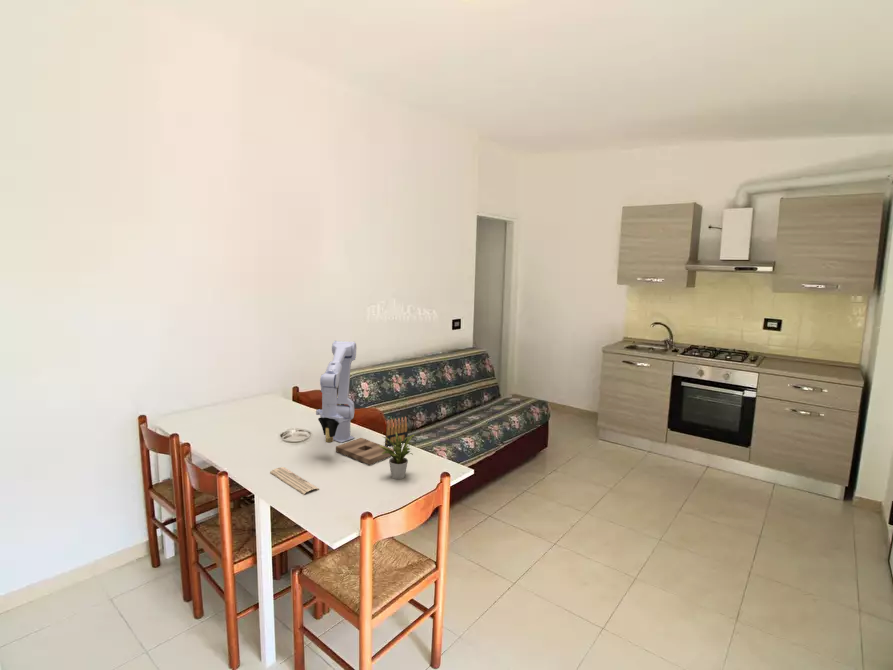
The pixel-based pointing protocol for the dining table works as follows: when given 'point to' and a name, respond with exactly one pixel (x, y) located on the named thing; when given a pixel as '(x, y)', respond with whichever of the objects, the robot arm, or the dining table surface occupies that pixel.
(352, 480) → the dining table surface
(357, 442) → the walnut socket board
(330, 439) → the brass peg
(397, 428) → the ammunition clip
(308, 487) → the wooden slat
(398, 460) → the house plant
